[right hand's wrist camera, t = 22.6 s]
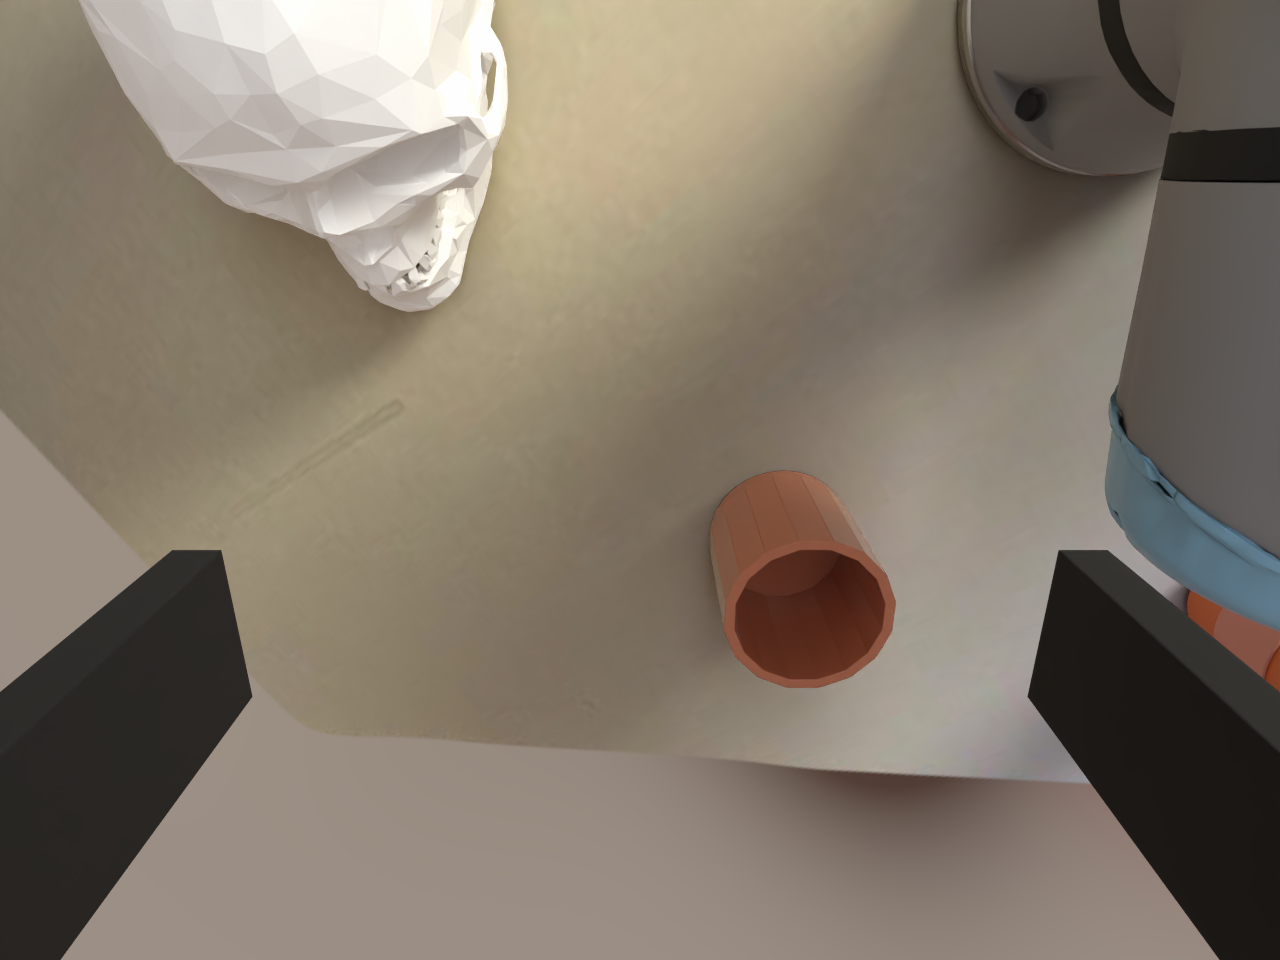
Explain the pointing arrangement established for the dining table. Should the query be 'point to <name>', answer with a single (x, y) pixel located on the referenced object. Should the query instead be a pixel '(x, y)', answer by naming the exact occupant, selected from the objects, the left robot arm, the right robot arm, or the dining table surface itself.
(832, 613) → the terracotta cup
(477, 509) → the dining table surface
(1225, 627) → the cup with straw
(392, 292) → the skull
